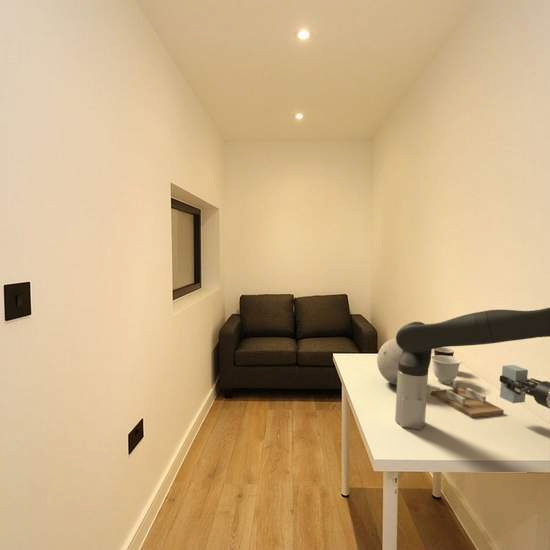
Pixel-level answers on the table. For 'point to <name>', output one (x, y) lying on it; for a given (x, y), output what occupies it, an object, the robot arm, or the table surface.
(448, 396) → the plate
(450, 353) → the coffee mug
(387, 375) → the moon model
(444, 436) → the table surface
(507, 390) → the block
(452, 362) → the teacup
